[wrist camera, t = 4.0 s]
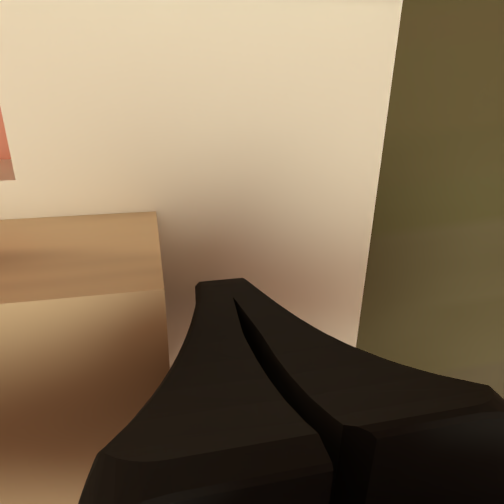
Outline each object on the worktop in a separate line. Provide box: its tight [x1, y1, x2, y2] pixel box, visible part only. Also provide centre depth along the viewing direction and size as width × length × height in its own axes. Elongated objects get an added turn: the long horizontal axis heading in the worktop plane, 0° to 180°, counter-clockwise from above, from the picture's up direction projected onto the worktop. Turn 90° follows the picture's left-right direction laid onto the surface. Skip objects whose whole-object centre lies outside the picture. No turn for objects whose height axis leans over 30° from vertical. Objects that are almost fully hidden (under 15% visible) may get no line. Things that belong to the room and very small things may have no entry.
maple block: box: [0, 211, 170, 504], centre depth 10 cm, size 5×5×4 cm
